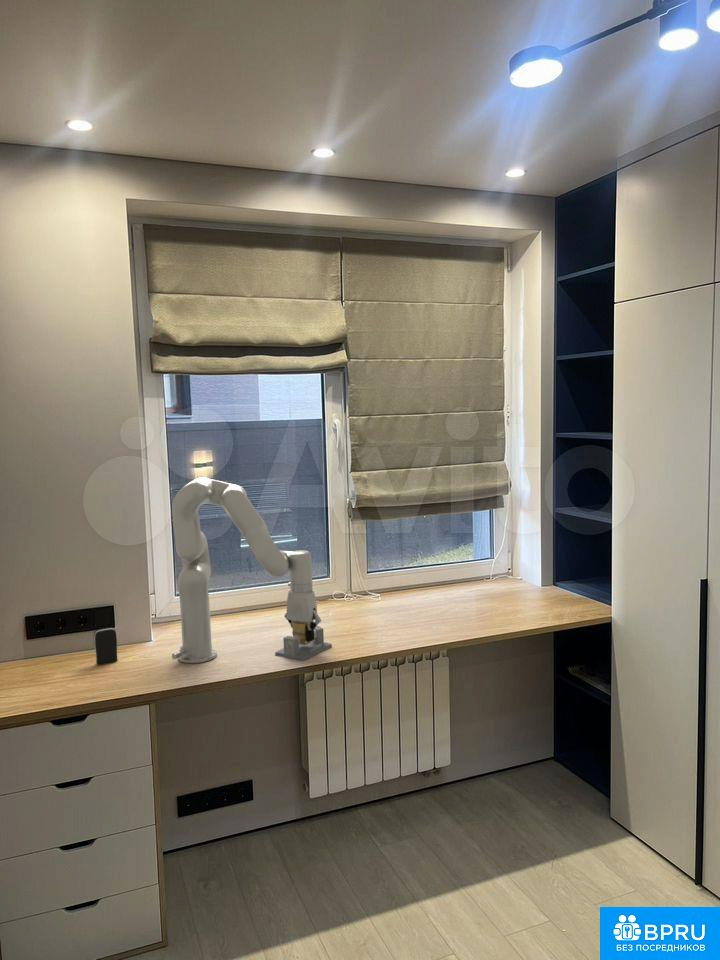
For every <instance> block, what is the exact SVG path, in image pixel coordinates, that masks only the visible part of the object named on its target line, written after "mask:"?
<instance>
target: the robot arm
mask: <svg viewBox="0 0 720 960" xmlns="http://www.w3.org/2000/svg"><path fill="white" fill-rule="evenodd" d="M205 504H210V505H214V506H218V507H222V508H223V509H224V511H225V513H226V514H227V515H228V517H229V518H230V520H231V521H232V522H233V524H234V526H235V527H236V528H237V529H238V531H239V532H240V534H241V536H242V537H243V538H244V540H245V542H246V543H247V545H248V547H249V548H250V549H251V551H252V553H253V555H254V556H255V557H256V559H257V560H258V562H259V564H261V566H262V567H263V569H264V571H265V572H266V573H267V574H268V575H269V576H271V577H273V578H277V579H279V578H282V577H284V576H285V575H286V574H287V573H288V572H289V582H288V584H287V586H288V587H289V591H288V593H287V597H286V600H287V601H286V613H285V614H284V619H286V620H287V622H288V623H289V625H290V628H291V629H292V630H293V624H292V623H293V622H296V621H298V622H304V623H306V624H307V628H308V630H307V642H310V641H312V640H314V629H315V627H316V626H319V625H320V623H321V622H322V619H321V617H320V616H319V614H318V608H317V599H316V594H315V591H314V590H313V568H312V566H313V565H312V563H313V562H312V553H311V552H310V551H309V550H305V549H304V550H303V549H300V550H293V551H289V550H280V549H279V548H278V547H277V544H276V543H275V542H274V540H273V538H272V536H271V534H270V532H269V530H268V527H267V526H268V525H267V524H266V522H265V520H264V519H263V517H262V516H261V515H260V513H259V512H258V511H257V509H256V508H255V507H254V505H253V503H252V502H251V500H250V499H249V498H248V494H247V492H246V490H245V488H244V487H242V486H241V485H238V484H234V483H229V482H225V481H220V480H217V479H211V478H208V477H198V478H195V479H193V480H191V481H190V482H188V483H187V484H185V485H184V486H183V487H181V488H180V490H178V491H177V493H176V494H175V496H174V498H173V500H172V505H171V506H172V507H171V514H172V523H173V534H174V542H175V543H174V544H175V550H176V551H175V552H176V554H177V555H178V558H180V559H181V565H182V566H181V567H182V569H181V570H180V572H179V575H178V578H177V589H178V595H179V604H180V605H179V608H180V625H181V641H182V642H181V643H182V644H181V645H182V646H180V647H179V648H180V649H179V651H177V652H174V653H172V655H171V658H172V660H176V659H178V661H179V662H181V663H186V664H198V663H199V664H200V663H205V662H209V661H211V660H212V661H213V659H215V658H216V657H217V654H218V653H217V650H216V649H214V648H213V647H212V629H211V628H212V627H211V606H210V593H209V581H210V579H211V575H212V567H211V559H210V551H209V544H208V539H207V537H206V535H205V533H204V532H203V531H202V530H201V522H200V521H201V520H200V515H199V509H200V507H201V506H203V505H205ZM310 623H311V625H310Z"/></svg>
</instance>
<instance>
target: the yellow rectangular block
mask: <svg viewBox="0 0 720 960" xmlns="http://www.w3.org/2000/svg"><path fill="white" fill-rule="evenodd" d="M292 624H293V629H292V630H291V631H292V637H297V638H299V640H300V644H302V645H306V644H308V643H311V642H313V641H314V640H312V641H310V642H307V630H308V628H307V624H306V623H304V622H298V621H296V622H293V623H292ZM310 625H311V623H310Z"/></svg>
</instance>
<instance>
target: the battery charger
mask: <svg viewBox="0 0 720 960" xmlns="http://www.w3.org/2000/svg"><path fill="white" fill-rule="evenodd" d="M117 638H118V636H117V631H116V630H115V629H114V628H112V627H105V628H100V629H99V628H98V629H96V630H95V631H94V632H93V645H94V652H95V664H96V665H97V666H101V664H102V665H107V664H111V662H112V663H115V662H117V661H118V639H117ZM106 663H107V664H106Z"/></svg>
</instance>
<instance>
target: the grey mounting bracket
mask: <svg viewBox="0 0 720 960" xmlns="http://www.w3.org/2000/svg"><path fill="white" fill-rule="evenodd" d="M324 638H325V636H324V628H323V627H321V626H319V625H317V626H316V627H315V629H314V641H313V642H311V643H308V644H306V645H302V644H300V640H299V638H297V637H293V635H292V636H291V635H287V636H285V637H283V647H282V648H281V649H279V650H276V651H275V652H274V654H275V656H278V657H283V658H288V659H293V660H298V661H302V660H303V661H306V660H308V659H310V658H312V657H314V656H316V655H318V654H320V653H322V652H323V651H326V650H328V649H330V648H332V647H333V645H332V643H329V642H325V641H324V640H325V639H324Z"/></svg>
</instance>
